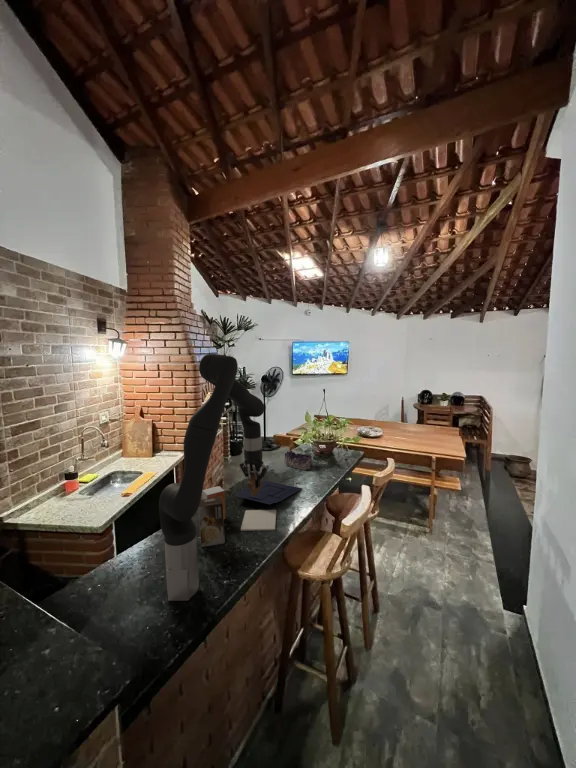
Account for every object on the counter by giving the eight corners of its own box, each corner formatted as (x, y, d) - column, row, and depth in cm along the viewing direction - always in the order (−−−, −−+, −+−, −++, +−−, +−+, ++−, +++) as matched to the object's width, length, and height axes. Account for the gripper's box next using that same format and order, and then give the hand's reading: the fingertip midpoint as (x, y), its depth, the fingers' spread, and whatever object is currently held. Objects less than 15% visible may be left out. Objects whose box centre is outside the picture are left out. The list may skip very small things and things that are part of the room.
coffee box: (223, 534, 132) (222, 496, 130) (225, 543, 125) (223, 503, 124) (200, 538, 129) (198, 499, 127) (200, 547, 123) (198, 506, 121)
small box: (208, 524, 139) (206, 495, 138) (203, 518, 145) (201, 489, 143) (225, 518, 144) (224, 490, 142) (220, 513, 149) (219, 485, 148)
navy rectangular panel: (230, 500, 159) (230, 492, 159) (264, 485, 185) (264, 478, 185) (273, 511, 147) (273, 503, 147) (302, 493, 174) (303, 486, 174)
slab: (262, 485, 141) (258, 473, 137) (255, 495, 136) (251, 484, 133) (258, 484, 142) (254, 472, 138) (251, 495, 137) (247, 483, 134)
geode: (279, 467, 207) (279, 451, 207) (288, 463, 217) (288, 448, 217) (307, 471, 197) (308, 454, 197) (316, 467, 207) (316, 451, 207)
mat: (274, 530, 134) (274, 528, 134) (240, 530, 134) (240, 529, 134) (276, 511, 150) (276, 509, 150) (245, 511, 150) (245, 510, 150)
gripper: (271, 446, 135) (273, 486, 138) (244, 442, 141) (246, 481, 144) (262, 452, 129) (264, 493, 131) (233, 448, 135) (236, 488, 137)
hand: (254, 487), depth 137 cm, fingers closed on slab, 1 cm apart
